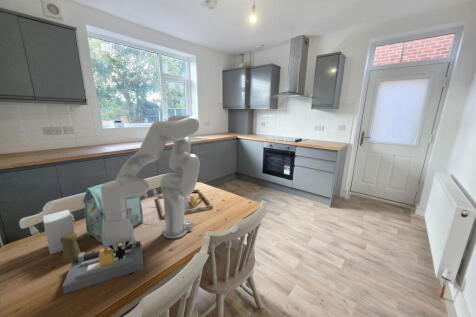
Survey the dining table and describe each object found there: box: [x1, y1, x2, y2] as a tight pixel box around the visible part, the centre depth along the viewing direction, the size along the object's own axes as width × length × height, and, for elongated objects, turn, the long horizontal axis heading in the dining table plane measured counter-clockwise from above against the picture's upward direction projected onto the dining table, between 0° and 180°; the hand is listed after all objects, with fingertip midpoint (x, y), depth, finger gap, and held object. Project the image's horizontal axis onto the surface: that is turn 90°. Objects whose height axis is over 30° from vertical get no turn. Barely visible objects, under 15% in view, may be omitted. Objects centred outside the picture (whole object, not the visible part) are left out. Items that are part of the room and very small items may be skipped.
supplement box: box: [42, 209, 75, 255], centre depth 86 cm, size 9×9×15 cm
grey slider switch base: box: [61, 239, 144, 295], centre depth 75 cm, size 24×13×5 cm, turn 118°
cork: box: [60, 231, 82, 264], centre depth 79 cm, size 6×6×11 cm
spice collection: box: [183, 193, 203, 210], centre depth 132 cm, size 25×24×9 cm
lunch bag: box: [82, 179, 144, 243], centre depth 99 cm, size 23×16×27 cm
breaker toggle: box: [99, 248, 114, 267], centre depth 73 cm, size 4×4×6 cm
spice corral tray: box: [155, 188, 214, 220], centre depth 131 cm, size 31×32×3 cm
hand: (120, 257), depth 75 cm, fingers closed
